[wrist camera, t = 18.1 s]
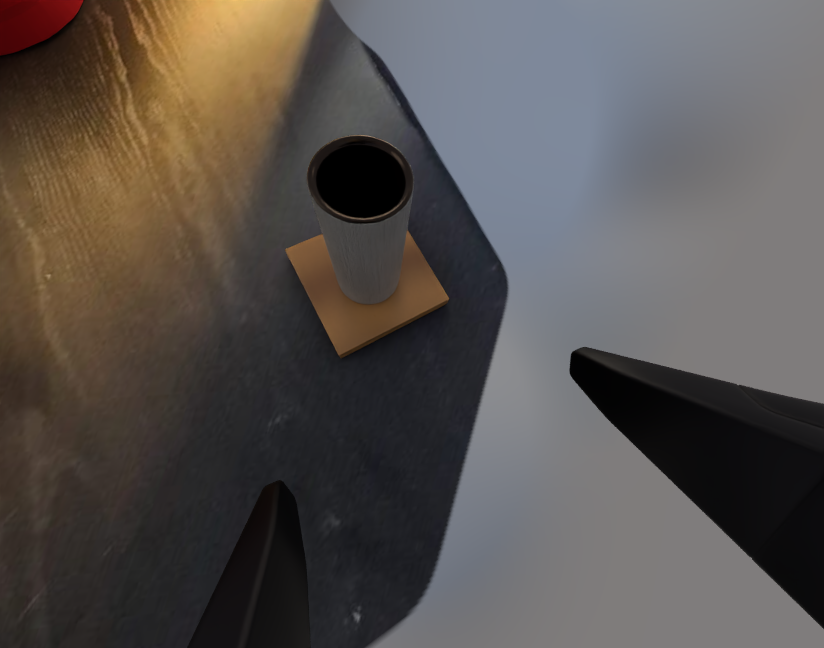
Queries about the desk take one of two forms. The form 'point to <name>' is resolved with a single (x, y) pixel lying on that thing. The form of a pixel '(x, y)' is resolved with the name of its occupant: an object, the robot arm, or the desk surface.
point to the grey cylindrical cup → (362, 212)
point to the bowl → (32, 21)
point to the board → (365, 322)
